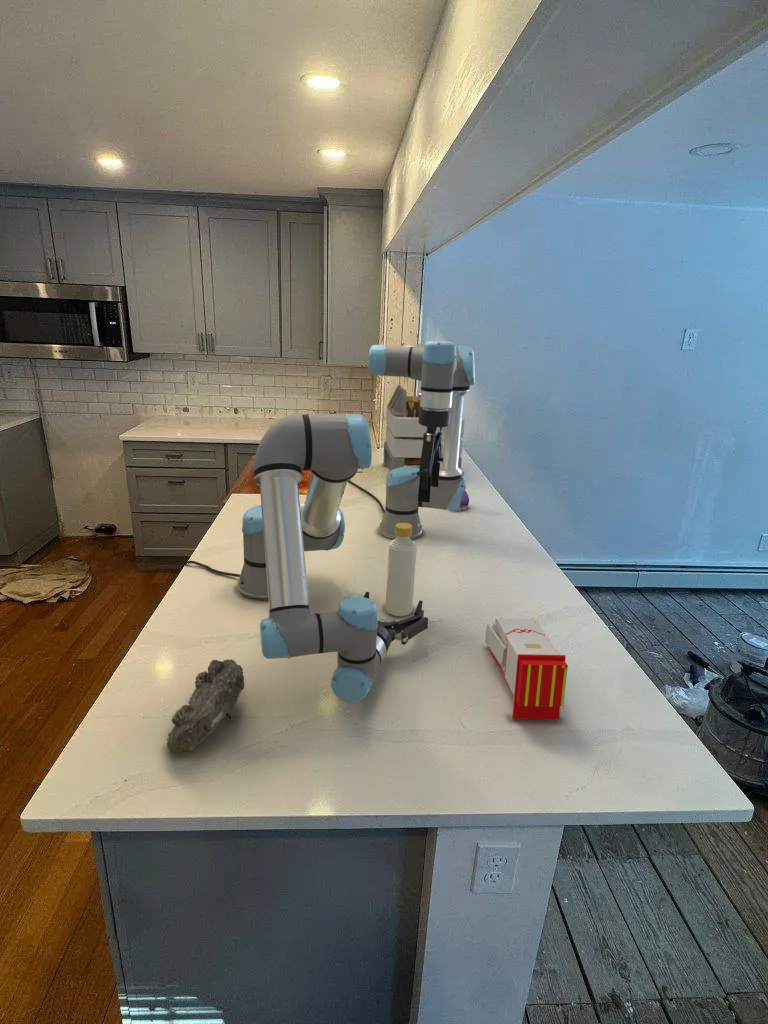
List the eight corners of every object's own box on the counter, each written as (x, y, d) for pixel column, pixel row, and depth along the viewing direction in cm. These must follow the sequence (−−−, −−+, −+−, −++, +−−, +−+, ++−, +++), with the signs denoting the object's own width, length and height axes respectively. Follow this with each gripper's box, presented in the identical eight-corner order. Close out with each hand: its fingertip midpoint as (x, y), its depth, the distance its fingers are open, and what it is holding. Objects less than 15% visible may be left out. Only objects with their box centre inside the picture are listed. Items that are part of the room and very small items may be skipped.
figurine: (455, 513, 222) (459, 476, 217) (441, 505, 231) (444, 469, 226) (475, 510, 226) (479, 474, 221) (460, 502, 235) (464, 467, 230)
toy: (531, 603, 136) (576, 661, 106) (526, 655, 139) (569, 725, 109) (481, 602, 135) (512, 660, 106) (477, 654, 138) (507, 724, 109)
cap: (402, 529, 145) (402, 521, 145) (414, 534, 143) (415, 525, 142) (391, 534, 142) (392, 525, 142) (404, 538, 140) (405, 530, 139)
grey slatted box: (382, 463, 289) (386, 382, 275) (445, 464, 293) (451, 384, 279) (390, 482, 257) (394, 392, 243) (460, 483, 261) (468, 394, 247)
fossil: (192, 660, 117) (244, 628, 112) (224, 691, 120) (276, 661, 115) (142, 746, 98) (202, 712, 93) (182, 779, 101) (242, 748, 96)
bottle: (397, 600, 155) (401, 520, 147) (417, 609, 150) (423, 527, 142) (380, 609, 149) (383, 526, 141) (400, 619, 145) (405, 534, 137)
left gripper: (315, 650, 126) (345, 606, 145) (426, 672, 120) (442, 622, 139) (315, 621, 123) (346, 579, 142) (428, 641, 117) (444, 595, 137)
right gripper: (428, 400, 148) (422, 479, 155) (409, 415, 125) (403, 506, 132) (457, 403, 146) (450, 482, 153) (443, 418, 123) (435, 510, 130)
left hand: (393, 600), depth 141 cm, fingers open, 13 cm apart
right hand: (428, 493), depth 142 cm, fingers open, 13 cm apart
